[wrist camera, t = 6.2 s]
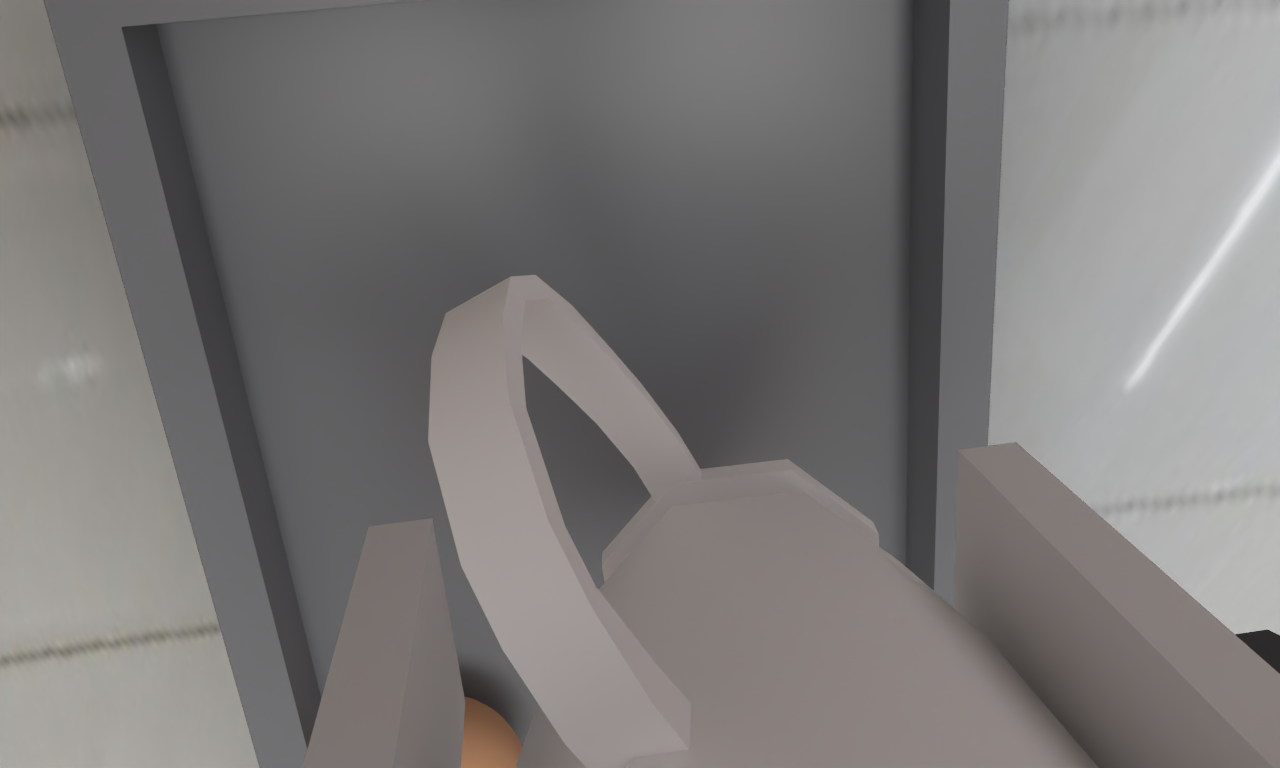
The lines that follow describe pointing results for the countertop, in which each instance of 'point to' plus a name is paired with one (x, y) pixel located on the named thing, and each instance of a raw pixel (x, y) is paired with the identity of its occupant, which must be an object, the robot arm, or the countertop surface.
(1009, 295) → the countertop surface
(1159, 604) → the robot arm
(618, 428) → the cup
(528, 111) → the tray
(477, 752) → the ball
